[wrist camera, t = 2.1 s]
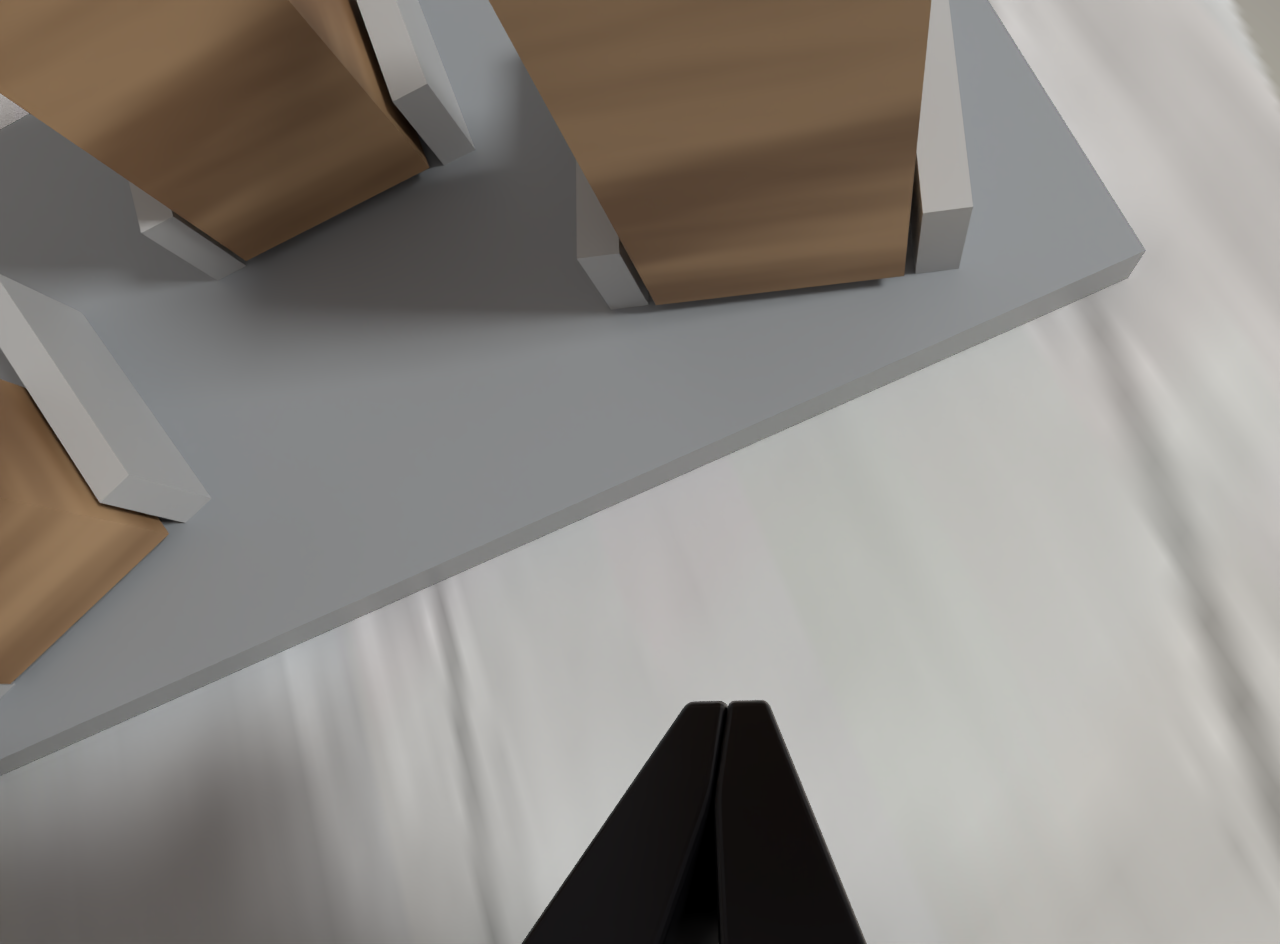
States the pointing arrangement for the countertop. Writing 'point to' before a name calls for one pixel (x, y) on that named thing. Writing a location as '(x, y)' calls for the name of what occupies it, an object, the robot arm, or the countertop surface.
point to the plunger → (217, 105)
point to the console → (461, 351)
